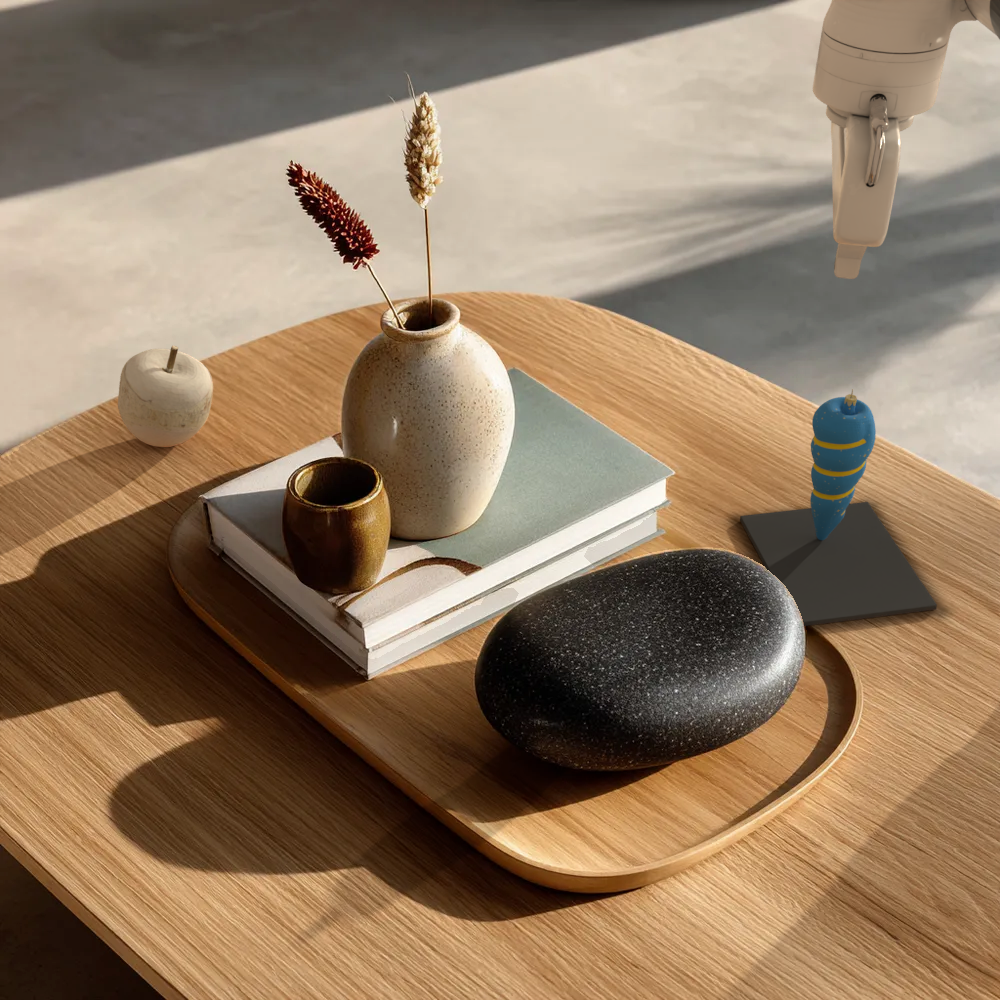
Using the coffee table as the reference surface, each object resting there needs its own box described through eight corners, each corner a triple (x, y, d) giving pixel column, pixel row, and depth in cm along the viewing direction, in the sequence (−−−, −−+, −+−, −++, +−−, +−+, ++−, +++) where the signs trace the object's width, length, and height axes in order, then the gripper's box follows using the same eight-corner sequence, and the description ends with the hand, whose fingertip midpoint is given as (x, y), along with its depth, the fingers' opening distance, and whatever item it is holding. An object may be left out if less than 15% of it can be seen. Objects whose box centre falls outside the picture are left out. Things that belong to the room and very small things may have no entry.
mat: (866, 505, 120) (867, 501, 119) (936, 609, 109) (937, 605, 108) (739, 520, 118) (740, 515, 117) (797, 627, 107) (798, 622, 107)
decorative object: (108, 435, 126) (90, 344, 120) (189, 402, 131) (175, 313, 125) (155, 478, 121) (138, 385, 115) (237, 442, 126) (226, 351, 120)
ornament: (788, 551, 114) (817, 403, 104) (792, 514, 118) (820, 369, 108) (850, 561, 113) (884, 413, 104) (852, 524, 117) (885, 379, 108)
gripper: (931, 131, 88) (890, 315, 96) (914, 31, 104) (880, 196, 112) (834, 123, 89) (802, 306, 97) (832, 25, 105) (804, 189, 113)
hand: (844, 246), depth 105 cm, fingers open, 8 cm apart
